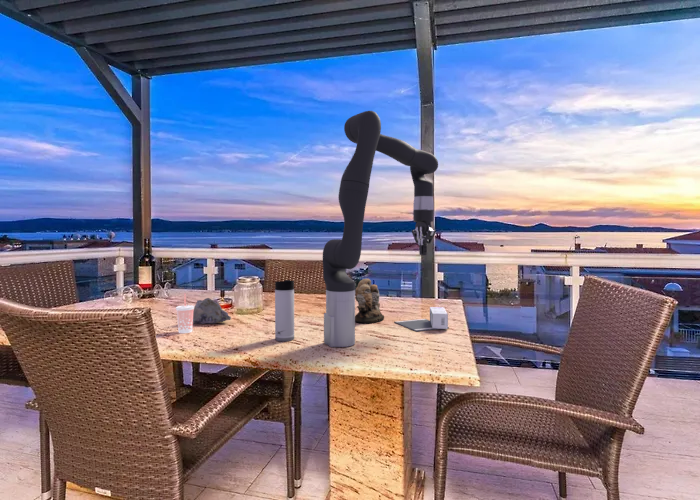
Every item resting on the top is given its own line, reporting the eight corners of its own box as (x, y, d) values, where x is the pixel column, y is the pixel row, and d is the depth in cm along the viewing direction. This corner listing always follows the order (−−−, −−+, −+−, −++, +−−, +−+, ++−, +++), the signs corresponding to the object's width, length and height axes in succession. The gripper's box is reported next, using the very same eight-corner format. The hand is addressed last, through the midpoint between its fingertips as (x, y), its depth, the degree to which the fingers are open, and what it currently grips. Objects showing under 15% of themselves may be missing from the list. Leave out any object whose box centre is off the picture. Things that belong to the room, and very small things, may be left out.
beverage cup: (197, 331, 147) (197, 292, 146) (180, 334, 142) (180, 294, 141) (189, 328, 151) (189, 290, 150) (173, 331, 146) (172, 292, 146)
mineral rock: (232, 323, 160) (232, 298, 160) (208, 328, 151) (207, 301, 151) (212, 319, 168) (212, 294, 167) (188, 323, 159) (188, 298, 159)
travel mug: (278, 342, 132) (278, 280, 131) (272, 338, 138) (272, 278, 137) (297, 340, 135) (297, 279, 134) (290, 336, 141) (290, 277, 140)
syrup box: (448, 313, 148) (444, 307, 163) (431, 313, 149) (429, 306, 164) (447, 329, 149) (444, 321, 163) (431, 328, 149) (429, 320, 164)
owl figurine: (375, 326, 157) (375, 281, 156) (347, 323, 161) (346, 280, 160) (388, 316, 174) (388, 276, 173) (362, 314, 178) (361, 275, 177)
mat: (416, 331, 147) (416, 330, 147) (394, 322, 162) (394, 321, 162) (448, 328, 153) (448, 326, 153) (424, 319, 167) (424, 318, 167)
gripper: (405, 209, 159) (405, 254, 160) (424, 207, 147) (424, 256, 148) (422, 210, 162) (421, 254, 163) (442, 208, 150) (441, 255, 151)
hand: (423, 255), depth 155 cm, fingers closed
